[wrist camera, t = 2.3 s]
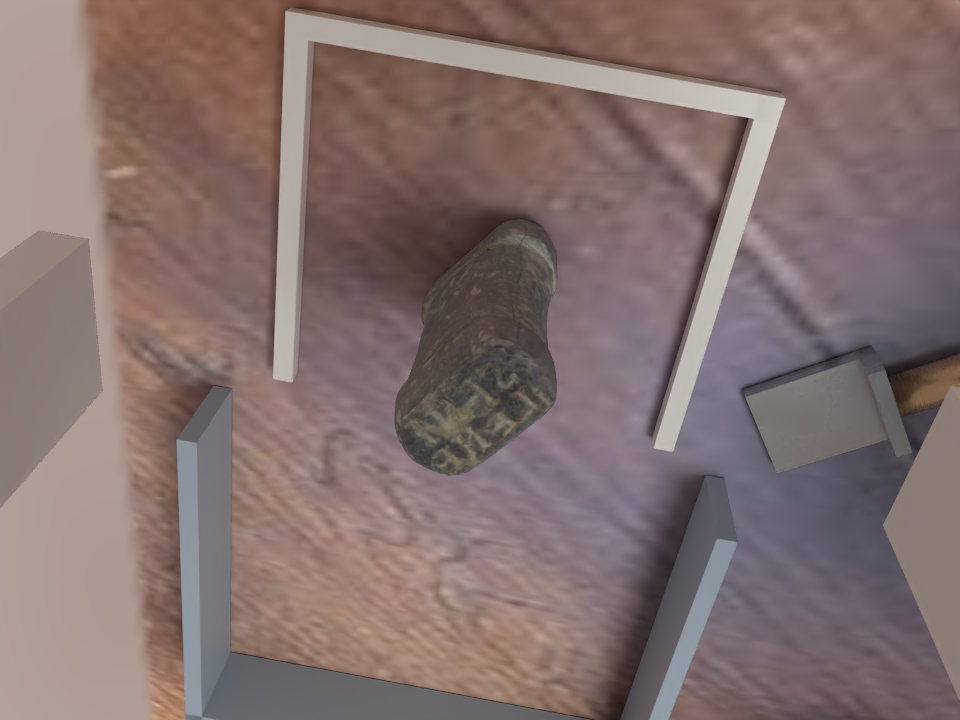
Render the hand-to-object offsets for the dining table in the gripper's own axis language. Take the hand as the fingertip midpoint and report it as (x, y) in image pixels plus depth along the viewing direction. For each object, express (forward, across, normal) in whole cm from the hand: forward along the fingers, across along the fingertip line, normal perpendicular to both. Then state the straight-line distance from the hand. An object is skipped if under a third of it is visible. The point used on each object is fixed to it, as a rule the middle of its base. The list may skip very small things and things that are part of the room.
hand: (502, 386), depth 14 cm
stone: (+20, -1, -7) cm, 21 cm away
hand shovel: (+19, +15, -9) cm, 26 cm away
